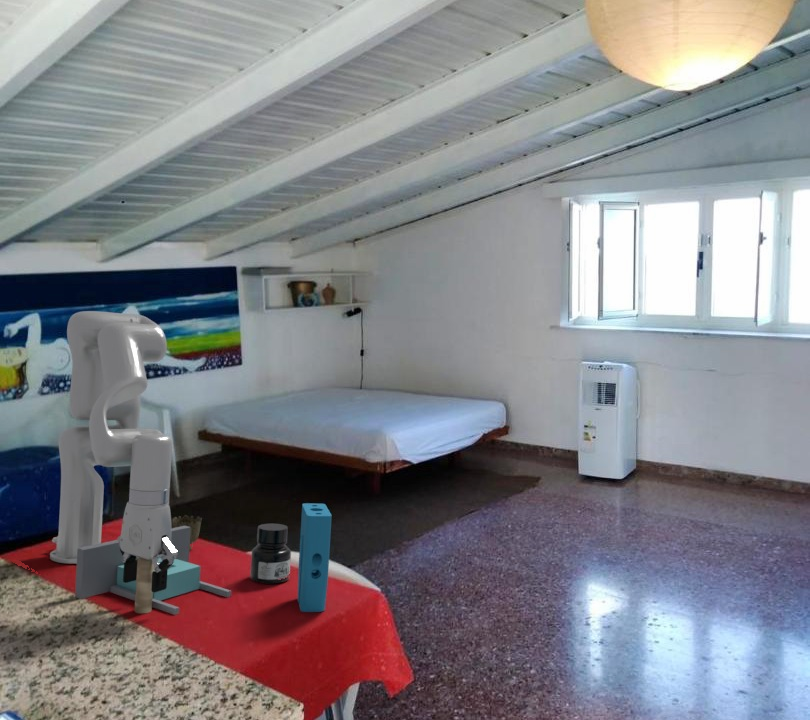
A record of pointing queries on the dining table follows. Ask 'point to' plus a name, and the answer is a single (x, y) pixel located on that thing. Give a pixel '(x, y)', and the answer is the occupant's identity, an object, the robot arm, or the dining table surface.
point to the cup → (190, 523)
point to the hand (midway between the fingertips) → (144, 585)
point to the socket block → (170, 580)
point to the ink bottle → (271, 555)
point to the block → (314, 557)
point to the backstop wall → (104, 559)
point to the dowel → (144, 586)
